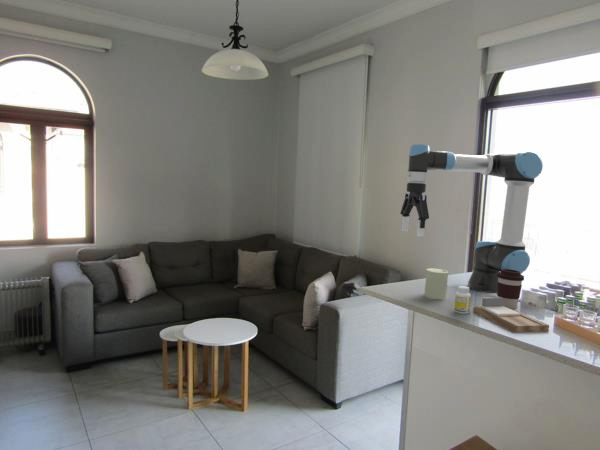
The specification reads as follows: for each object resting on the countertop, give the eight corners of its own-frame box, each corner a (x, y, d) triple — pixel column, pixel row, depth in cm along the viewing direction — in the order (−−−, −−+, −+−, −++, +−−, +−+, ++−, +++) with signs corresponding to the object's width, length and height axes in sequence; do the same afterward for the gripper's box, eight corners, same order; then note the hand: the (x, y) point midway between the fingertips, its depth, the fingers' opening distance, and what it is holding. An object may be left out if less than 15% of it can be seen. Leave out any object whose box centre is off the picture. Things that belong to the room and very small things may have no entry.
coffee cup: (488, 303, 176) (492, 268, 174) (505, 302, 180) (509, 267, 178) (508, 311, 167) (512, 273, 165) (526, 309, 170) (530, 272, 169)
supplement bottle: (462, 309, 165) (464, 285, 164) (472, 313, 160) (474, 288, 159) (451, 310, 163) (453, 285, 162) (460, 314, 158) (463, 289, 157)
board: (504, 311, 166) (505, 305, 166) (548, 331, 145) (549, 324, 144) (473, 311, 163) (473, 305, 162) (513, 332, 141) (514, 325, 141)
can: (447, 300, 177) (450, 272, 176) (424, 298, 179) (427, 270, 177) (444, 295, 186) (447, 268, 185) (423, 292, 188) (425, 266, 186)
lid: (501, 307, 163) (502, 297, 163) (519, 315, 153) (521, 304, 153) (479, 307, 161) (480, 297, 160) (497, 316, 151) (498, 305, 151)
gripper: (395, 181, 184) (391, 229, 186) (423, 182, 160) (418, 237, 162) (410, 182, 186) (407, 230, 188) (441, 183, 161) (436, 238, 164)
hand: (412, 233), depth 175 cm, fingers open, 13 cm apart
